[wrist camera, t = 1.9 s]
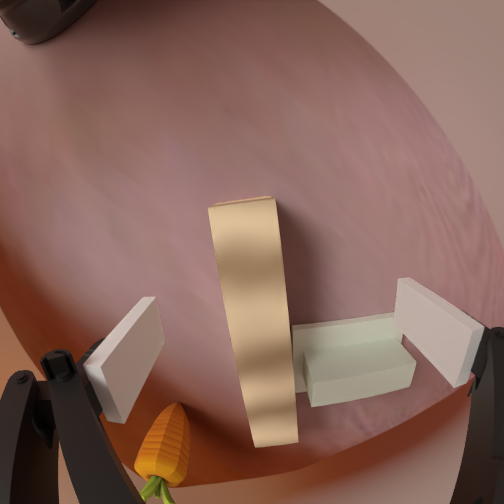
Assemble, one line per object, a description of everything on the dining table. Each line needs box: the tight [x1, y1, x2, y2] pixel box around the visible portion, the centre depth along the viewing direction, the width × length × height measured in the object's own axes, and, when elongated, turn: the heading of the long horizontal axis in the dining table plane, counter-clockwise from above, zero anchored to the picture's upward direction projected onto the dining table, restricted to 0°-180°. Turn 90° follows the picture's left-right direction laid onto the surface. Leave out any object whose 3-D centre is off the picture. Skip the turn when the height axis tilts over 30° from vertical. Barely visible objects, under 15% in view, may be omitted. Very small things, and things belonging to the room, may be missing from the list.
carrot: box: [134, 403, 190, 504], centre depth 21 cm, size 5×5×15 cm
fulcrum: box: [292, 312, 417, 407], centre depth 24 cm, size 8×12×6 cm, turn 94°
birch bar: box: [208, 196, 298, 448], centre depth 24 cm, size 24×4×6 cm, turn 8°
